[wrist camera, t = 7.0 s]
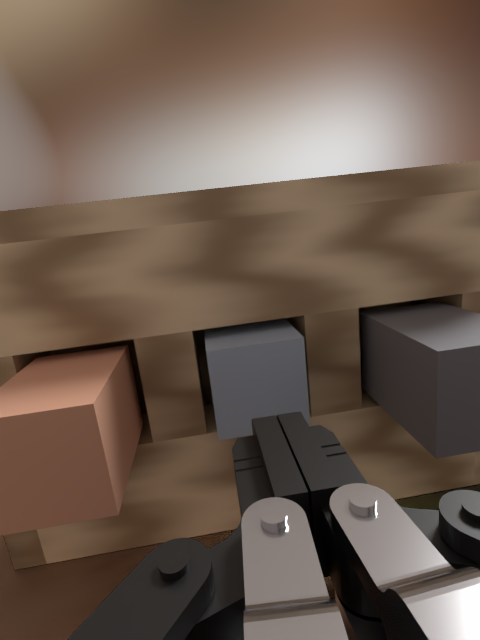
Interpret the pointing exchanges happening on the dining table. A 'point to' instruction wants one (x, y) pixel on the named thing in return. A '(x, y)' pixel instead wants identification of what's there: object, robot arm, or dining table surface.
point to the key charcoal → (426, 372)
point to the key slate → (255, 374)
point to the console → (235, 323)
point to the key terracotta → (67, 439)
